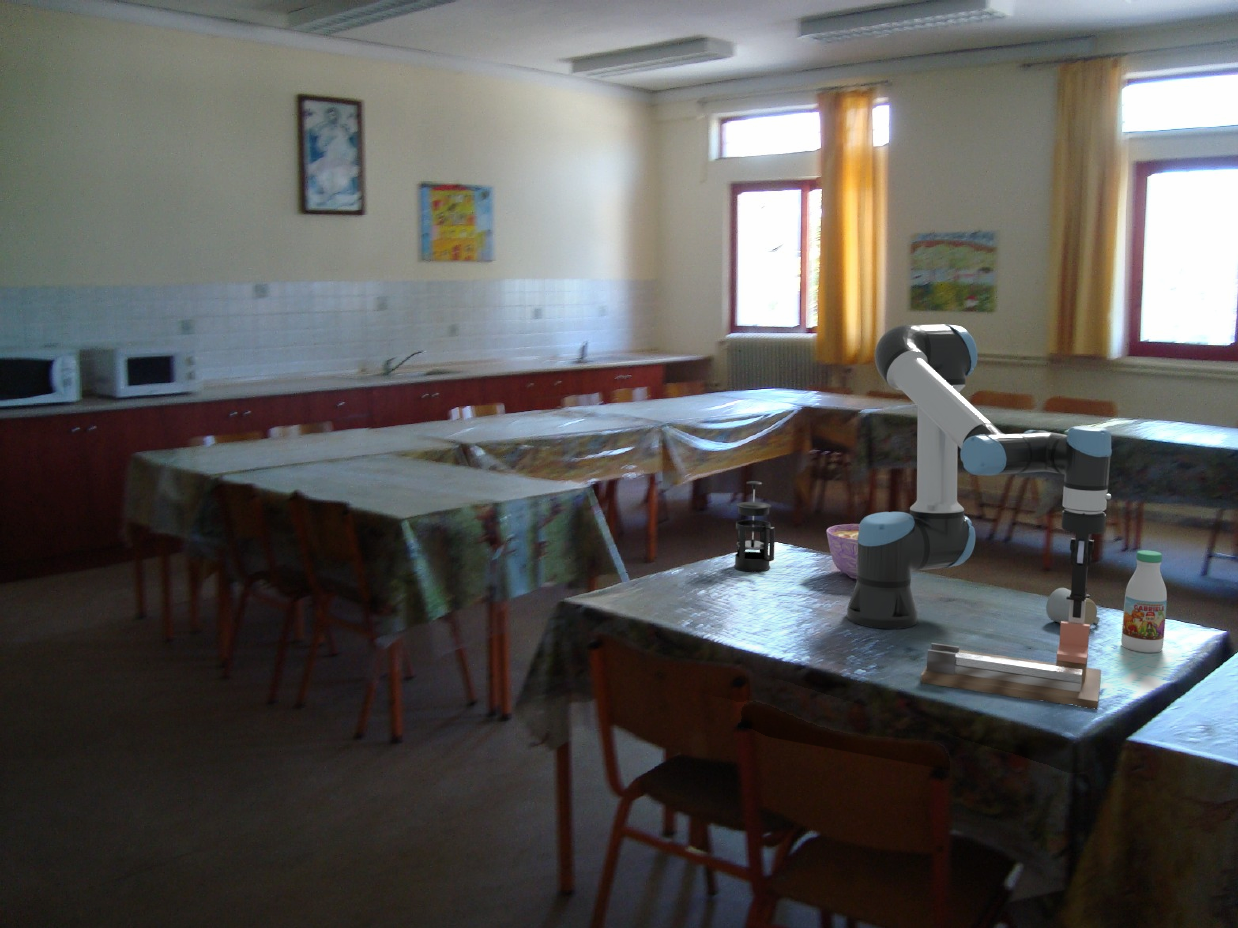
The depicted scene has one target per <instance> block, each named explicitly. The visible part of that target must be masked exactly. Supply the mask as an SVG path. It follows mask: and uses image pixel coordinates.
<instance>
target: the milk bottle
mask: <svg viewBox="0 0 1238 928" xmlns="http://www.w3.org/2000/svg"><path fill="white" fill-rule="evenodd" d="M1162 560H1163V554H1162V553H1161V552H1159V551H1154V550H1147V549H1143V550H1138V551H1137V552H1136V564H1137V565H1136V568H1135V570H1134V573H1133V575H1132V576H1131V577H1130V579H1129V581H1128V583H1127V585H1126V588H1125V593H1124V594H1125V595H1124V602H1123V604H1124V605H1123V614H1122V627H1121V628H1122V629H1121V641H1120V643H1121V646H1123V648H1125V649H1127V650H1130V651H1132V652H1133V651H1134V652H1138V653H1148V654H1150V653H1154V654H1155V653H1159V652H1162V650H1163V647H1164V640H1165V630H1166V629H1165V626H1166V625H1165V624H1166V616H1167V615H1166V614H1167V604H1168V603H1167V602H1168V601H1167V599H1168V596H1167V595H1168V594H1167V593H1168V592H1167V588H1166V584H1165V582H1164V579H1163V577H1162V573H1161V569H1160V568H1161V567H1160V566H1161V565H1162Z"/></svg>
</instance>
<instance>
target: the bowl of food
mask: <svg viewBox="0 0 1238 928" xmlns="http://www.w3.org/2000/svg"><path fill="white" fill-rule="evenodd" d="M859 525H860V523H850V524H849V523H848V524H845V523H844V524H838V525H833V526H829V527H828V528H827V529H826V536H827V541H828V546H829V551H830V556H831V559H832V562H833V564H834V566H835V567H836V568H837V569H838V570H839V571H840V572H842V573H844V574H846V575H848V577H850V578H851V579H854V580H857V556H858V540H857V537H858V533H859Z"/></svg>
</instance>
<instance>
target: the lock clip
mask: <svg viewBox="0 0 1238 928" xmlns="http://www.w3.org/2000/svg"><path fill="white" fill-rule="evenodd" d="M1090 628H1091V626H1090V625H1089V624H1081V623H1073V622H1064V621H1061V623H1060V629H1059V644H1058V647H1057V652H1056V661H1057V660H1059V661H1067V662H1074V663H1081V664H1086V662H1087V663H1088V658H1087V655H1089V643H1090Z"/></svg>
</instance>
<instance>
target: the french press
mask: <svg viewBox="0 0 1238 928" xmlns="http://www.w3.org/2000/svg"><path fill="white" fill-rule="evenodd" d="M746 484H747V485H751V486H752V487H751V488H752V490H753V493H752V496H753V497H752V498H753V499H752V501H743V502H739V503H738V502H737V503H736V507H737V513H738V514H739V515H741V516H748V517H752V519H743V520H738V521H736V522H735V529H736V530H737V542H736V547H737V548H736V553H735V554H734V555H735V556H734V559H735V560H734V566H733V567H734V569H735V570H737V571H740V572H745V573H763V572H767V571H770V569H771V566H770V562H772V561H775V542H776V541H775V540H776V539H775V537H776V536H775V535H776V529H775V526H771V522H769V521H765V520H758V519H755V517H762V516H767V515H770V508H772V505H771V504H769V503H767V502H759V501H755V499H756V497H755V495H756V489H757V486H761V485H762V484H763V482H761V481H757V480H753V481H752V480H751V481H746ZM747 532H750V533H751V535H752V536H751V539H750V540H747V539H746V537H747V535H746V534H747ZM755 533H759V540H755V539H754V535H755ZM746 550H751V551H746ZM752 550H753V551H752ZM757 550H758V551H757Z"/></svg>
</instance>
